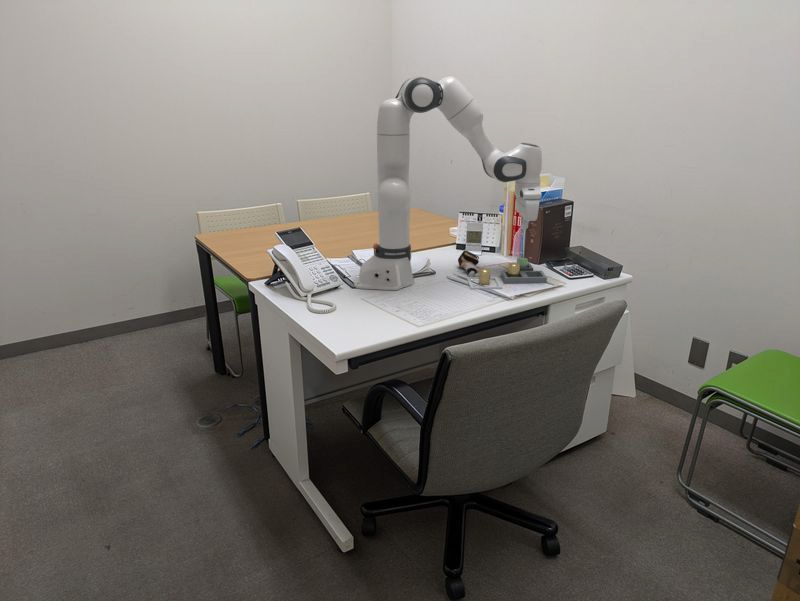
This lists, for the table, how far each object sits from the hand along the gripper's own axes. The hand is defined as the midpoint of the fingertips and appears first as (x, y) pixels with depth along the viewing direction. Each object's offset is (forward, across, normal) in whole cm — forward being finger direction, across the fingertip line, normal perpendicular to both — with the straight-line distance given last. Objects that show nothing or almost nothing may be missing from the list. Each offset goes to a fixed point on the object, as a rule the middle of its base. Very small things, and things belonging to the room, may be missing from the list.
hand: (524, 227), depth 201 cm
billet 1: (+18, +12, -16) cm, 27 cm away
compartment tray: (+19, +8, -1) cm, 20 cm away
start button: (+16, 0, 0) cm, 16 cm away
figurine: (+19, -3, -20) cm, 28 cm away
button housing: (+19, 0, 0) cm, 19 cm away
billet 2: (+17, +8, -5) cm, 20 cm away
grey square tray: (+19, +12, -16) cm, 27 cm away
